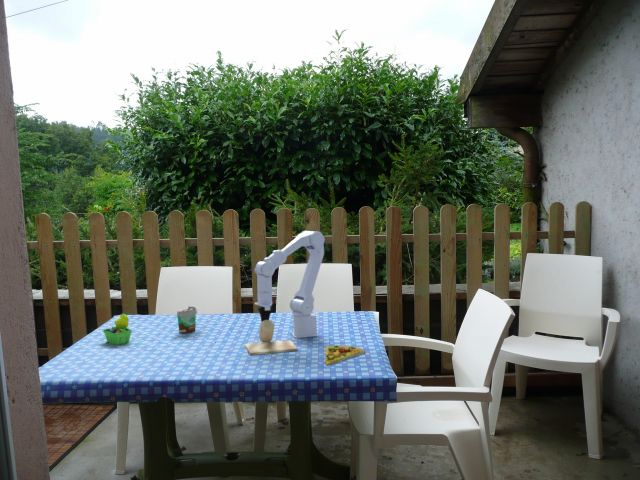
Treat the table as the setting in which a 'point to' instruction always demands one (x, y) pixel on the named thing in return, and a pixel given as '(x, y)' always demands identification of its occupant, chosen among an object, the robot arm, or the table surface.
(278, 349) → the board
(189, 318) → the food container
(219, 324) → the table surface
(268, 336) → the candle
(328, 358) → the pizza slice
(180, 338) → the table surface
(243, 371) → the table surface
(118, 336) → the green potted plant
